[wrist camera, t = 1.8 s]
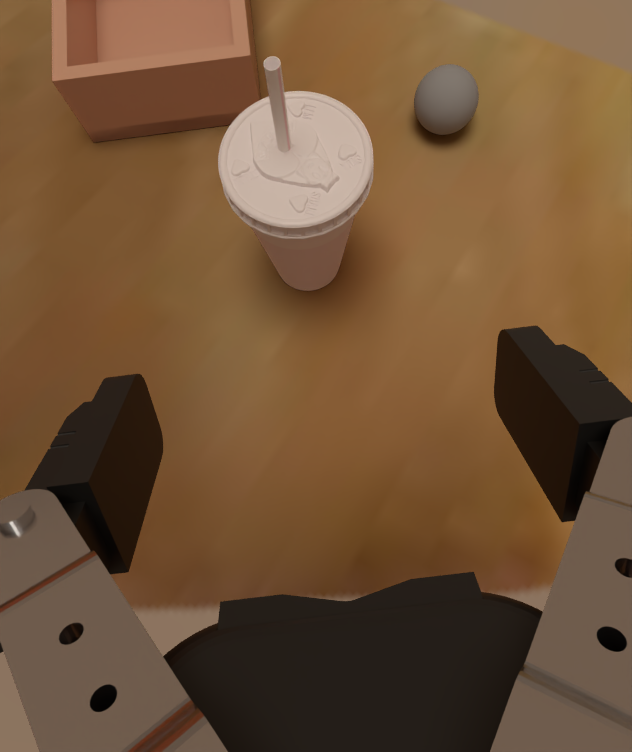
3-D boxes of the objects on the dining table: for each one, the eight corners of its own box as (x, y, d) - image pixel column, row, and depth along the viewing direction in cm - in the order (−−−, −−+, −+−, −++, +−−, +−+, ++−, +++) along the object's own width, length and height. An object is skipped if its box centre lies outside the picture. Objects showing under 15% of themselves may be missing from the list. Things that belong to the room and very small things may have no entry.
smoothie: (302, 191, 32) (275, -39, 19) (386, 253, 31) (424, 57, 17) (230, 268, 31) (146, 86, 18) (315, 335, 30) (295, 197, 16)
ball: (415, 151, 32) (424, 109, 29) (406, 100, 33) (414, 53, 30) (475, 143, 32) (491, 100, 29) (464, 93, 33) (479, 44, 30)
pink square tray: (93, 142, 34) (52, 81, 29) (90, 4, 36) (51, -74, 31) (263, 120, 33) (250, 55, 29) (248, -17, 36) (234, -98, 31)
